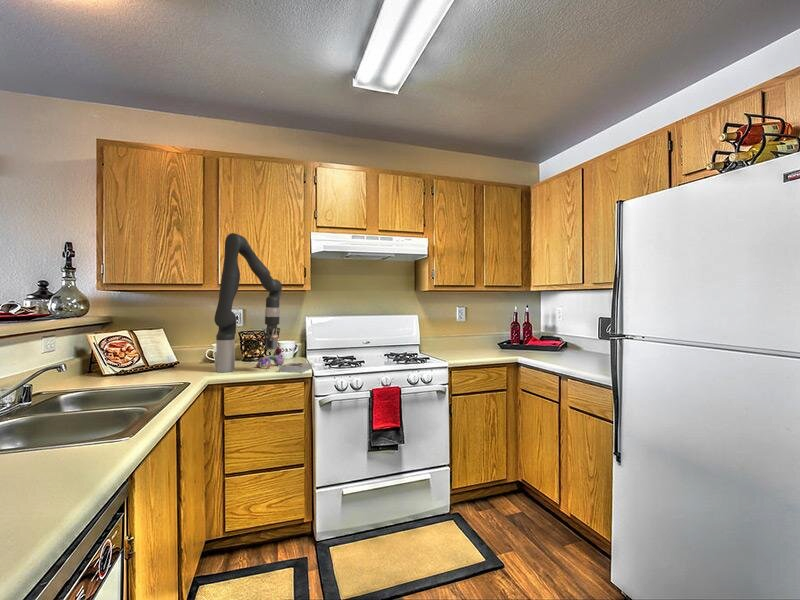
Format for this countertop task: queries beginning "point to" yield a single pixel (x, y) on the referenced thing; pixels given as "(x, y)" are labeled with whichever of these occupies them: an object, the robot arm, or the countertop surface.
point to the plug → (273, 342)
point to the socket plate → (295, 367)
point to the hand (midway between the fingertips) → (271, 347)
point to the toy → (276, 358)
